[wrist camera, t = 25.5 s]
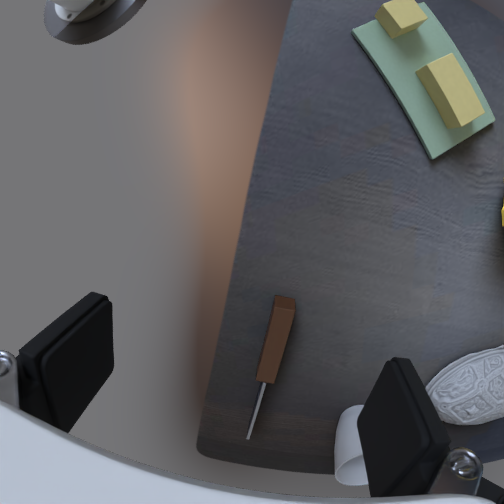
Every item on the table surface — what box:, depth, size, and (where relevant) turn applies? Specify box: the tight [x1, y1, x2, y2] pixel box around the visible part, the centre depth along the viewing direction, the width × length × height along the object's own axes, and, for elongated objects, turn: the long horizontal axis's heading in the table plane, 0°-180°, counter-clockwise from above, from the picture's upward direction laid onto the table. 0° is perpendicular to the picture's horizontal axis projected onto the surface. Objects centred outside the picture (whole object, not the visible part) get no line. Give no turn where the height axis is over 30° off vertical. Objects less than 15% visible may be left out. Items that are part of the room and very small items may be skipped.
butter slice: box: [375, 0, 428, 39], centre depth 23 cm, size 3×4×3 cm
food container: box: [425, 345, 504, 425], centre depth 34 cm, size 16×25×7 cm, turn 86°
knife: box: [246, 295, 295, 439], centre depth 37 cm, size 21×2×3 cm, turn 169°
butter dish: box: [351, 2, 495, 159], centre depth 26 cm, size 16×11×1 cm
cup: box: [334, 405, 368, 486], centre depth 35 cm, size 8×8×10 cm
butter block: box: [415, 53, 485, 129], centre depth 25 cm, size 7×4×3 cm, turn 33°
